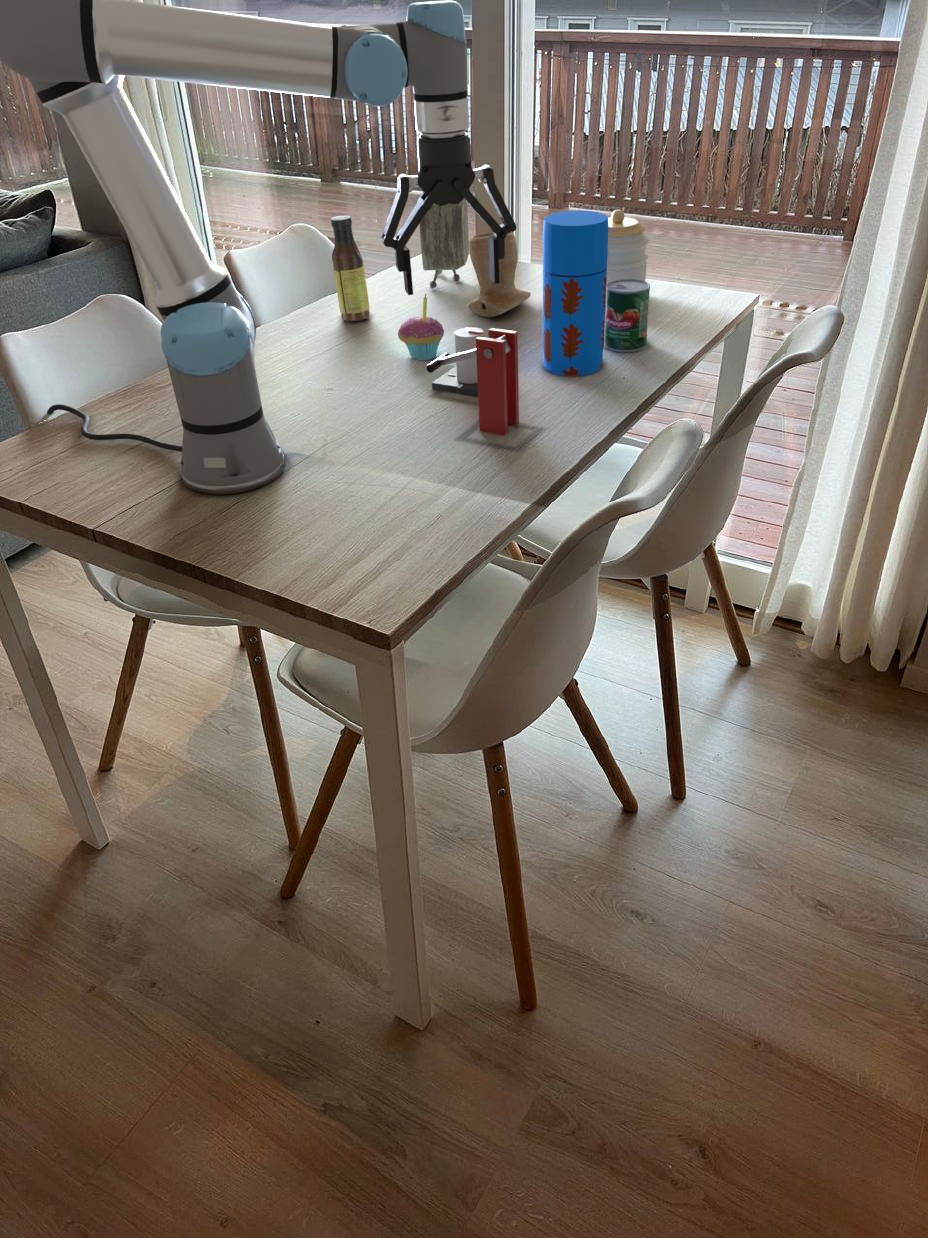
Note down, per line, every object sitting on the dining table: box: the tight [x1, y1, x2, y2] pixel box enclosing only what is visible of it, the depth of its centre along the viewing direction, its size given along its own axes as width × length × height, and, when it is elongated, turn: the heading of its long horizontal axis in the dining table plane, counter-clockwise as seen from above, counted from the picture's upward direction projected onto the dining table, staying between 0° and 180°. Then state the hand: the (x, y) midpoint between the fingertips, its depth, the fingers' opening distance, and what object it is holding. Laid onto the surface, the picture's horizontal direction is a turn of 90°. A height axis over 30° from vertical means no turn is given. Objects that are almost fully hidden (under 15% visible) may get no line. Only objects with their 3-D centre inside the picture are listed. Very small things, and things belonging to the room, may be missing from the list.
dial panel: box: [431, 366, 478, 398], centre depth 159 cm, size 11×9×3 cm
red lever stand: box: [476, 327, 520, 437], centre depth 141 cm, size 10×8×16 cm
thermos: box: [542, 210, 609, 377], centre depth 160 cm, size 11×11×25 cm
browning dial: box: [454, 326, 485, 384], centre depth 155 cm, size 5×5×8 cm
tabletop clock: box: [419, 199, 470, 290], centre depth 205 cm, size 14×9×25 cm, turn 174°
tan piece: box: [467, 231, 532, 318], centre depth 191 cm, size 15×12×15 cm
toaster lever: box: [425, 335, 511, 374], centre depth 140 cm, size 13×6×2 cm, turn 61°
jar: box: [606, 209, 650, 285], centre depth 191 cm, size 13×13×18 cm
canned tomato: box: [604, 279, 651, 353], centre depth 171 cm, size 8×8×11 cm
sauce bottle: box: [330, 215, 371, 322], centre depth 189 cm, size 7×6×20 cm
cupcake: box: [397, 293, 445, 361], centre depth 171 cm, size 9×8×12 cm
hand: (452, 286), depth 143 cm, fingers open, 13 cm apart
